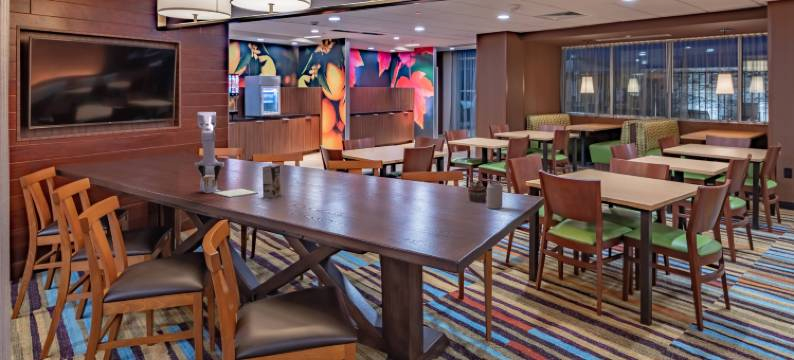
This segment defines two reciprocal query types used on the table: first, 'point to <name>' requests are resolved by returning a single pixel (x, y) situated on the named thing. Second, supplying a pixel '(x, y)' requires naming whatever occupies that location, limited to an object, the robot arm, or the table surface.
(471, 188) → the cupcake
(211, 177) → the stool
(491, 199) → the can
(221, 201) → the table surface
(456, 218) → the table surface
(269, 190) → the coffee box
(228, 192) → the mat
